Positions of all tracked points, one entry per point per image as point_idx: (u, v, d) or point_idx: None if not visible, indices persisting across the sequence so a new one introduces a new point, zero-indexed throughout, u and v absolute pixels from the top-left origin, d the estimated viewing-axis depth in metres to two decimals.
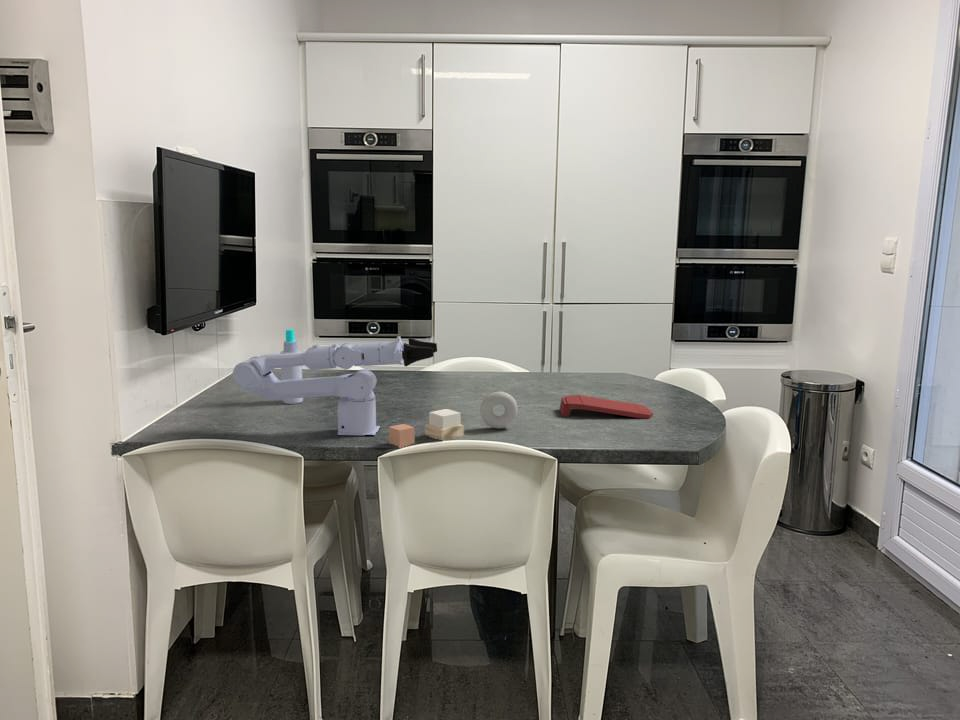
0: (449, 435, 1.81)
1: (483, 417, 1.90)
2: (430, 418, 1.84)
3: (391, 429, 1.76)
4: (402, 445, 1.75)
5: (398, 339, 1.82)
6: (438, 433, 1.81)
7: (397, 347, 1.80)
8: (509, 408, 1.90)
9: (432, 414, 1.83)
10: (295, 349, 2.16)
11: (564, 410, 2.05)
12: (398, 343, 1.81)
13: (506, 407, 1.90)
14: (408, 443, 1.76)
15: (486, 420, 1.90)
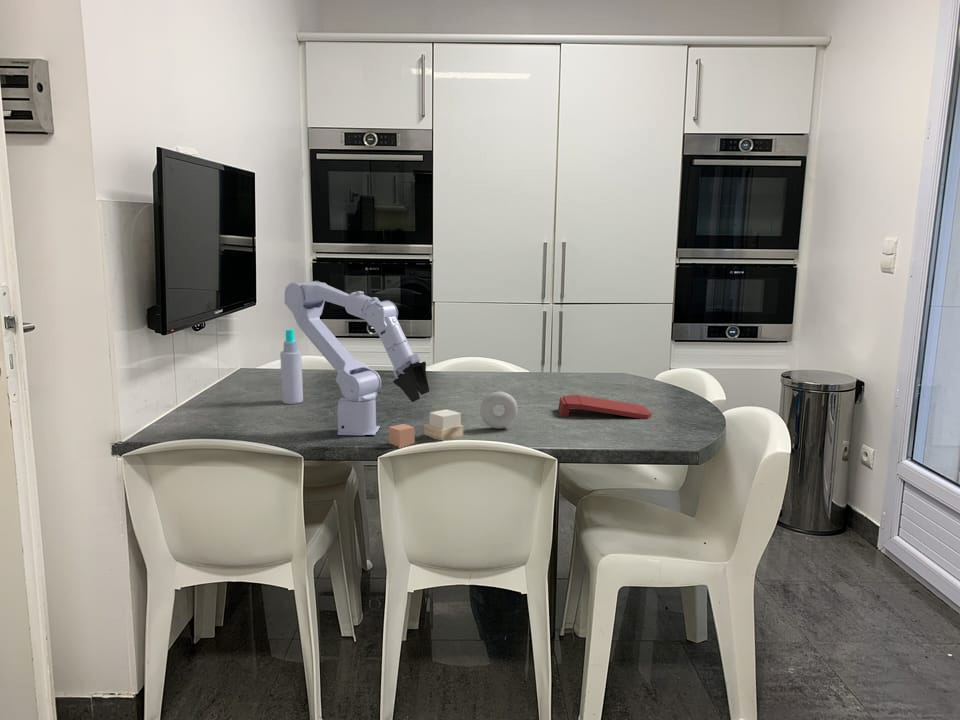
0: (448, 435, 1.81)
1: (483, 417, 1.90)
2: (431, 418, 1.84)
3: (391, 429, 1.76)
4: (402, 445, 1.75)
5: (418, 358, 1.78)
6: (437, 434, 1.81)
7: None
8: (509, 408, 1.90)
9: (432, 414, 1.83)
10: (295, 349, 2.16)
11: (563, 410, 2.05)
12: None
13: (506, 407, 1.90)
14: (408, 443, 1.76)
15: (486, 420, 1.90)
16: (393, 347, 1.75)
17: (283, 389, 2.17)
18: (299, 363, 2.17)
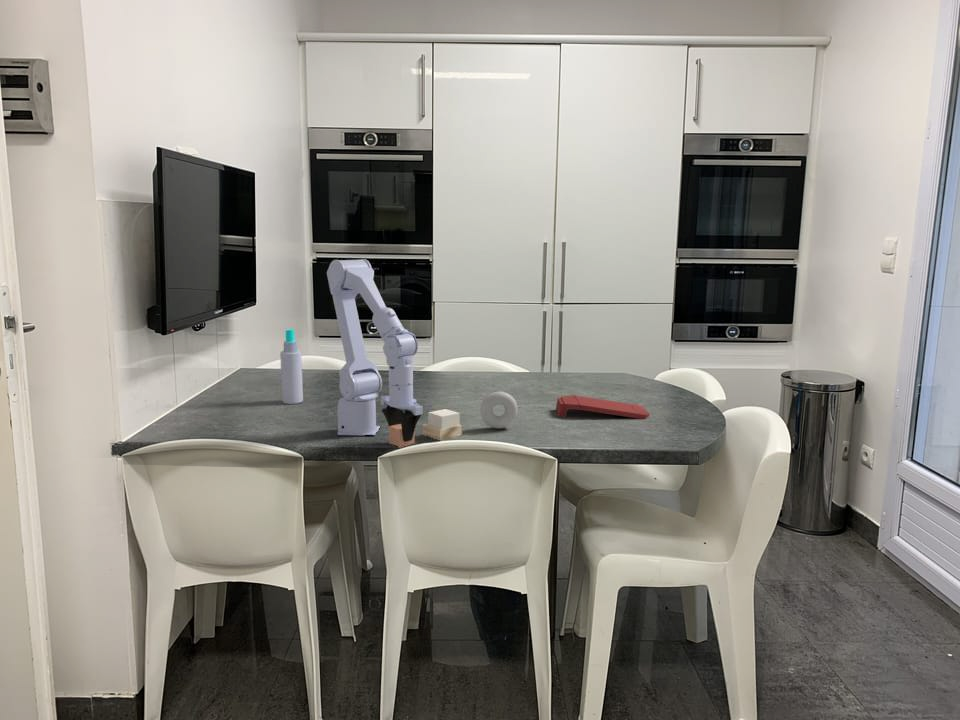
0: (447, 435, 1.81)
1: (483, 417, 1.90)
2: (429, 418, 1.84)
3: (391, 429, 1.76)
4: (402, 445, 1.75)
5: (415, 401, 1.77)
6: (436, 433, 1.81)
7: None
8: (509, 408, 1.90)
9: (431, 414, 1.83)
10: (295, 349, 2.16)
11: (561, 410, 2.04)
12: None
13: (506, 407, 1.90)
14: (408, 443, 1.76)
15: (486, 420, 1.90)
16: (400, 387, 1.72)
17: (283, 389, 2.17)
18: (299, 363, 2.17)
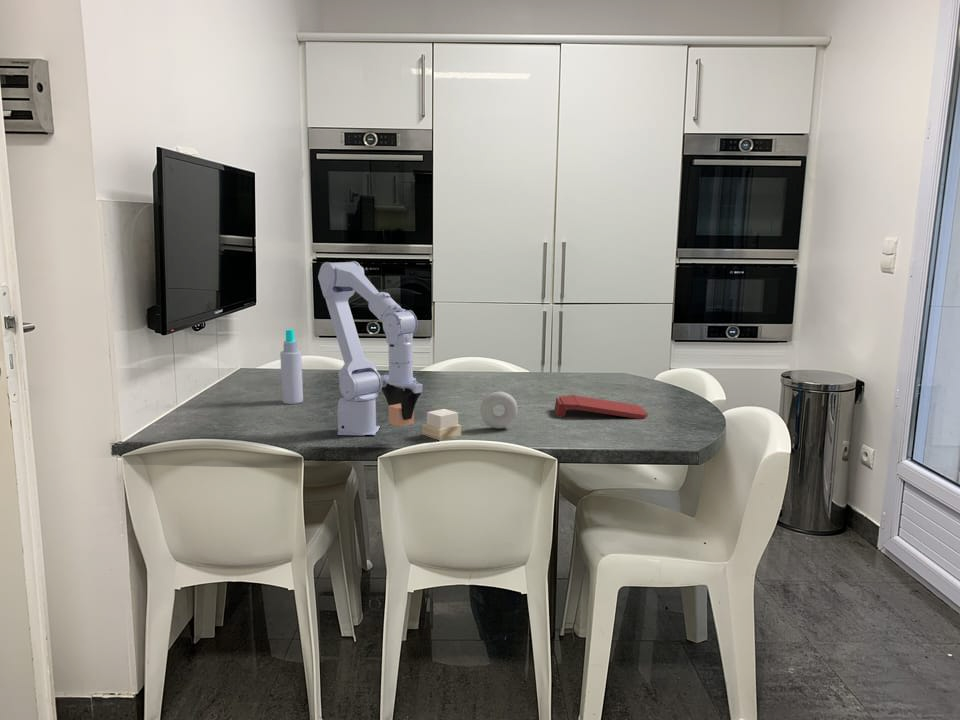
0: (446, 435, 1.81)
1: (483, 417, 1.90)
2: (428, 418, 1.84)
3: (390, 408, 1.75)
4: (402, 424, 1.74)
5: (414, 380, 1.76)
6: (435, 433, 1.81)
7: None
8: (509, 408, 1.90)
9: (430, 414, 1.83)
10: (295, 349, 2.16)
11: (559, 411, 2.04)
12: None
13: (506, 407, 1.90)
14: (408, 422, 1.75)
15: (486, 420, 1.90)
16: (399, 365, 1.71)
17: (283, 389, 2.17)
18: (299, 363, 2.17)
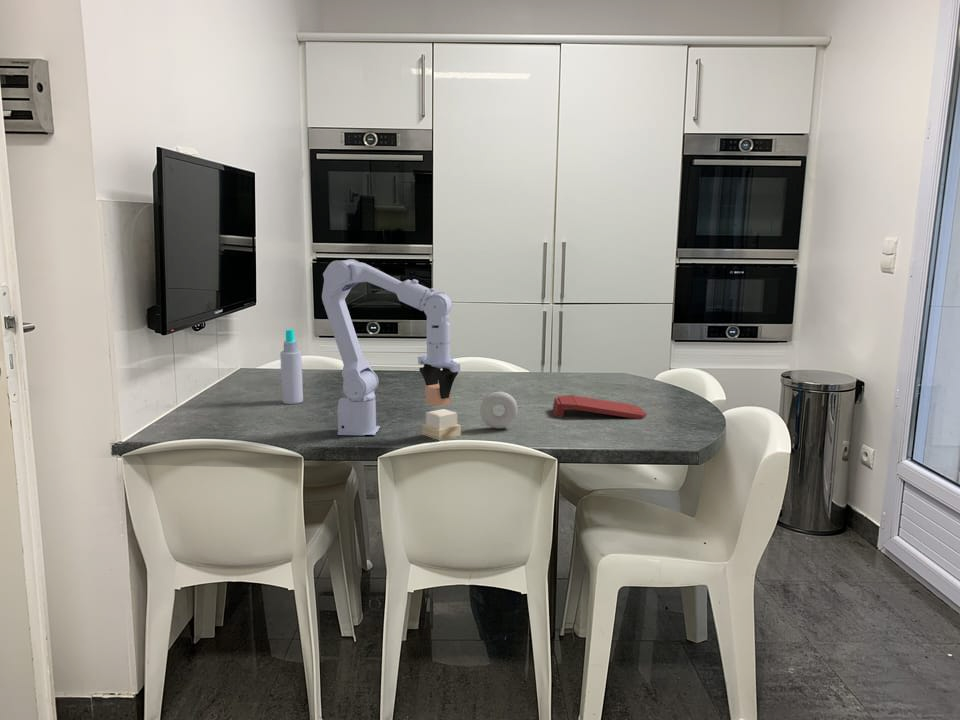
0: (446, 435, 1.81)
1: (483, 417, 1.90)
2: (427, 418, 1.84)
3: (427, 388, 1.81)
4: (438, 403, 1.79)
5: (451, 360, 1.82)
6: (435, 433, 1.81)
7: None
8: (509, 408, 1.90)
9: (429, 414, 1.83)
10: (295, 349, 2.16)
11: (558, 411, 2.04)
12: None
13: (506, 407, 1.90)
14: (444, 402, 1.81)
15: (486, 420, 1.90)
16: (438, 345, 1.77)
17: (283, 389, 2.17)
18: (299, 363, 2.17)
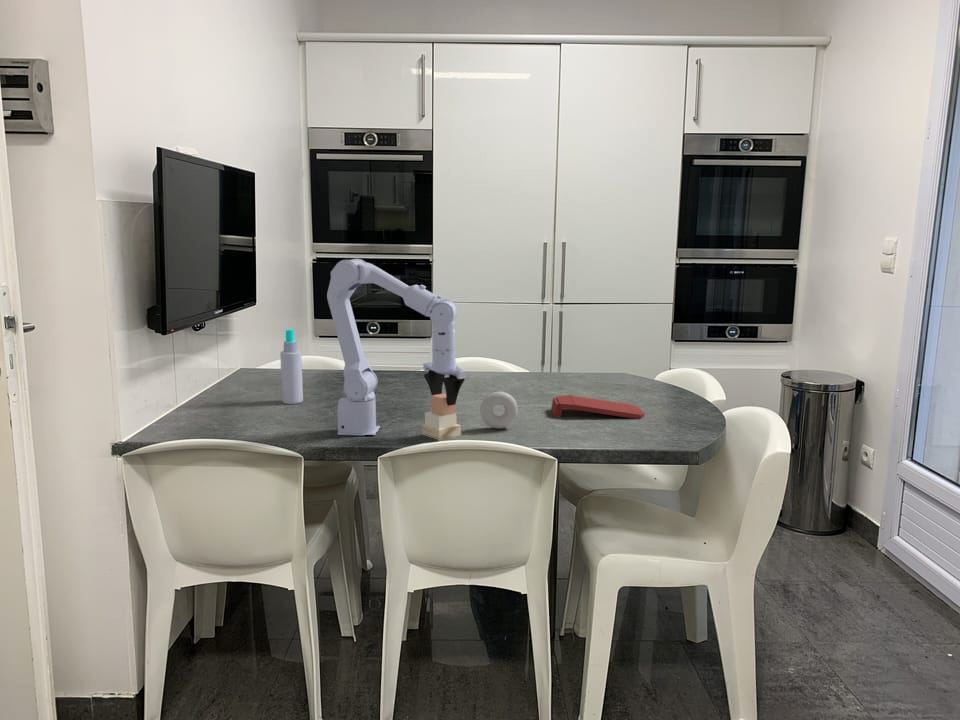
0: (446, 435, 1.81)
1: (483, 417, 1.90)
2: (426, 418, 1.84)
3: (433, 397, 1.82)
4: (445, 413, 1.81)
5: (457, 367, 1.83)
6: (435, 433, 1.81)
7: None
8: (509, 408, 1.90)
9: (428, 414, 1.83)
10: (295, 349, 2.16)
11: (556, 410, 2.04)
12: None
13: (506, 407, 1.90)
14: (450, 411, 1.82)
15: (486, 420, 1.90)
16: (443, 352, 1.78)
17: (283, 389, 2.17)
18: (299, 363, 2.17)
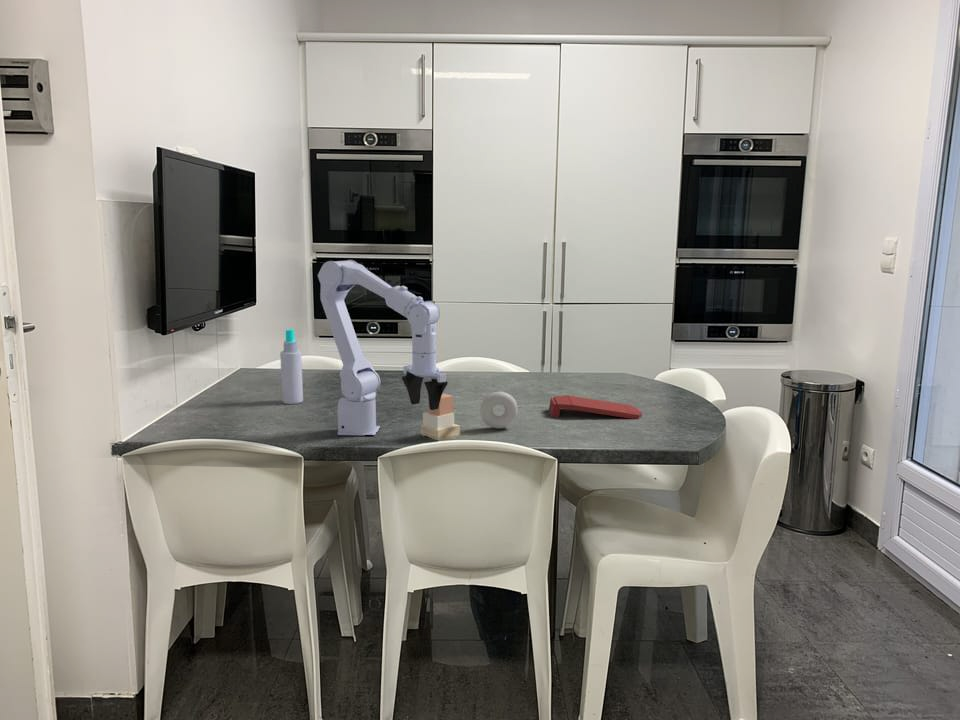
0: (445, 435, 1.82)
1: (483, 417, 1.90)
2: (424, 418, 1.84)
3: None
4: (442, 413, 1.81)
5: (437, 370, 1.79)
6: (434, 434, 1.81)
7: None
8: (509, 408, 1.90)
9: (426, 415, 1.83)
10: (295, 349, 2.16)
11: (554, 411, 2.04)
12: None
13: (506, 407, 1.90)
14: (447, 411, 1.83)
15: (486, 420, 1.90)
16: (423, 354, 1.74)
17: (283, 389, 2.17)
18: (299, 363, 2.17)
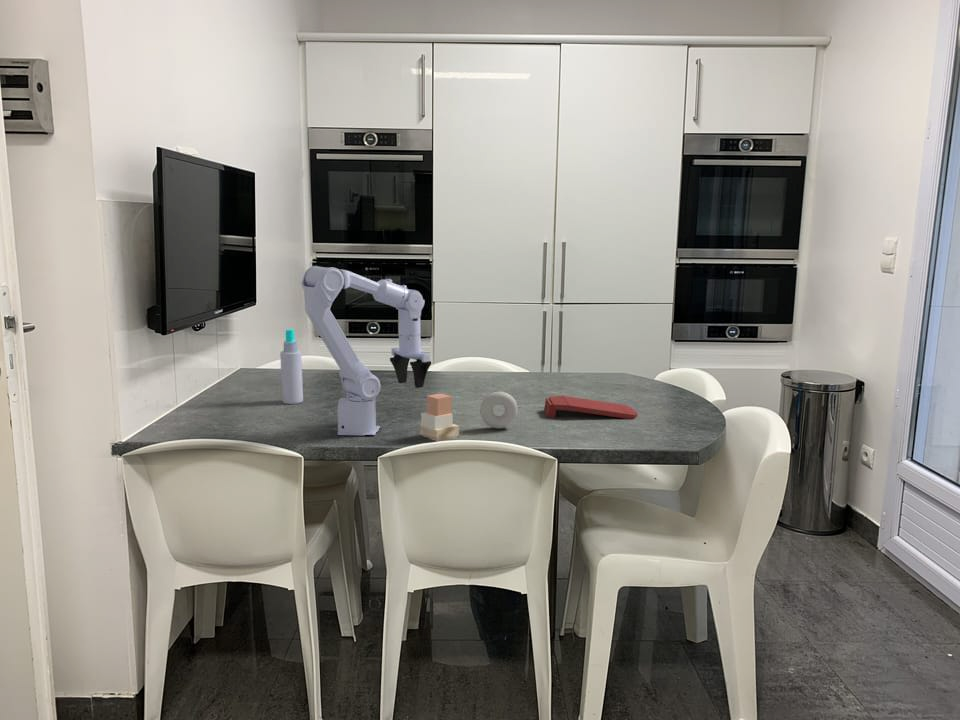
0: (444, 436, 1.81)
1: (483, 417, 1.90)
2: (422, 419, 1.83)
3: (429, 398, 1.82)
4: (440, 413, 1.81)
5: (422, 351, 1.95)
6: (433, 434, 1.81)
7: None
8: (509, 408, 1.90)
9: (424, 415, 1.83)
10: (295, 349, 2.16)
11: (549, 411, 2.03)
12: None
13: (506, 407, 1.90)
14: (445, 411, 1.82)
15: (486, 420, 1.90)
16: (409, 337, 1.90)
17: (283, 389, 2.17)
18: (299, 363, 2.17)
